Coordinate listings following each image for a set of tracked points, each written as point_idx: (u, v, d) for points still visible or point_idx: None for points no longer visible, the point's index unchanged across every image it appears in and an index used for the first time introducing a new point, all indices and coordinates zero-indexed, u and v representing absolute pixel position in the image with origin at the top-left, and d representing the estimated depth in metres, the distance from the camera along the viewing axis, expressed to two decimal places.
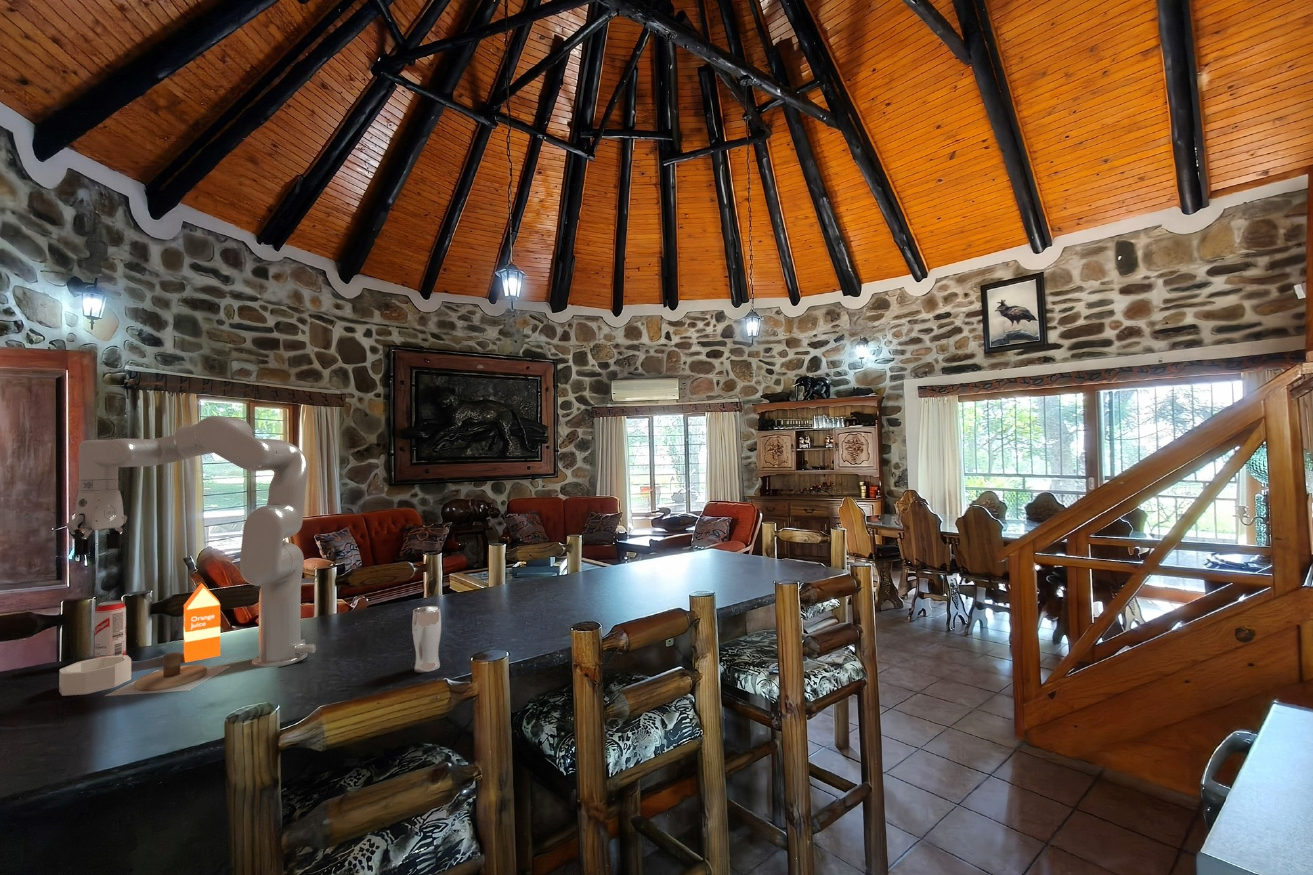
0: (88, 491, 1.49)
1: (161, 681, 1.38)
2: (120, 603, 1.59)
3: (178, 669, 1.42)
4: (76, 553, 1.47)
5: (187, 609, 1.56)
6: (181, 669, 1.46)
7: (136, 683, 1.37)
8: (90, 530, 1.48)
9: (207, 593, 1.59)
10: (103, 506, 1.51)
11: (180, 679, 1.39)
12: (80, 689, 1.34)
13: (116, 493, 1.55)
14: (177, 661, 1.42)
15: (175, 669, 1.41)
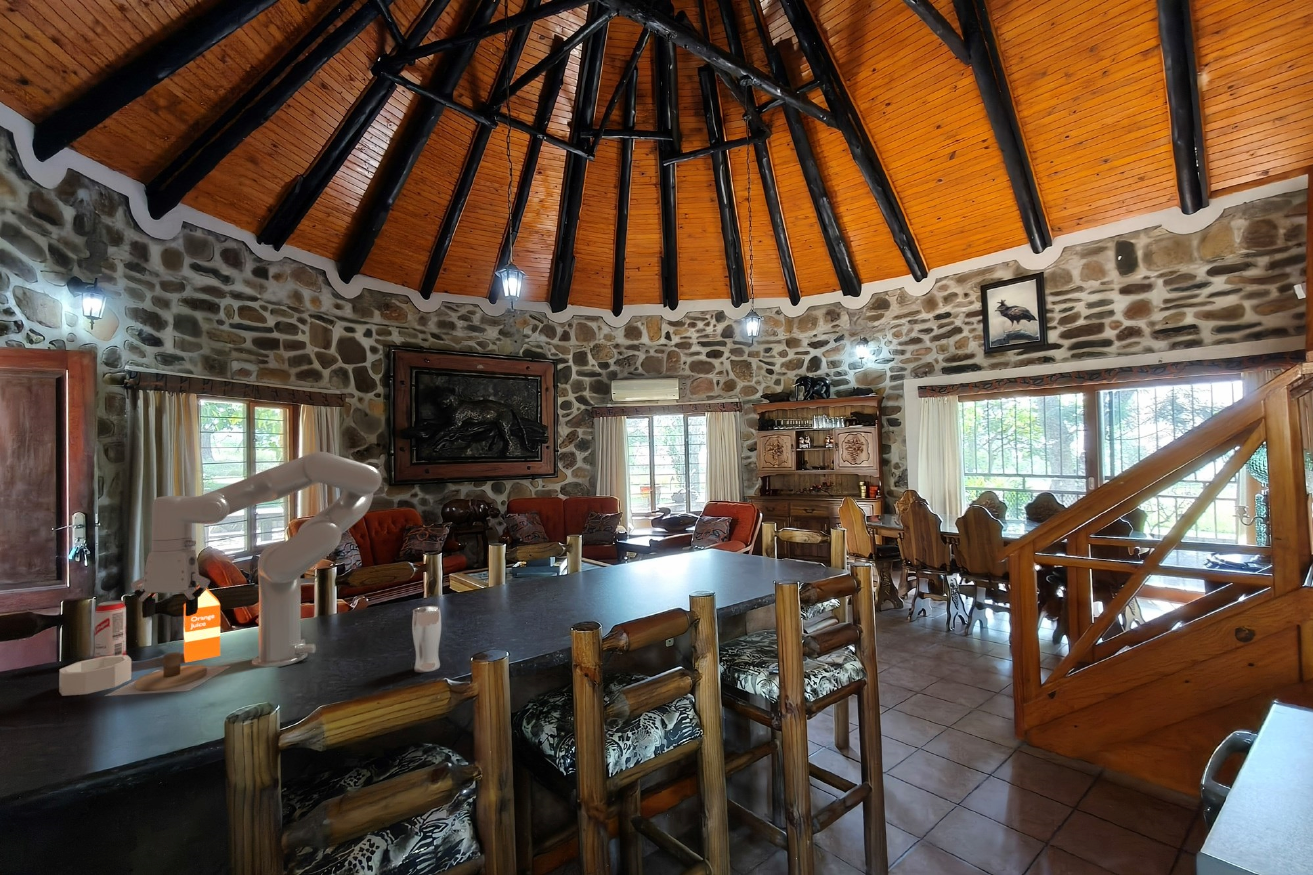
0: (188, 549, 1.44)
1: (161, 681, 1.38)
2: (120, 603, 1.59)
3: (179, 669, 1.42)
4: (189, 614, 1.42)
5: None
6: (181, 669, 1.46)
7: (136, 683, 1.37)
8: None
9: (207, 593, 1.59)
10: None
11: (180, 679, 1.39)
12: (80, 689, 1.34)
13: None
14: (177, 661, 1.42)
15: (175, 669, 1.41)
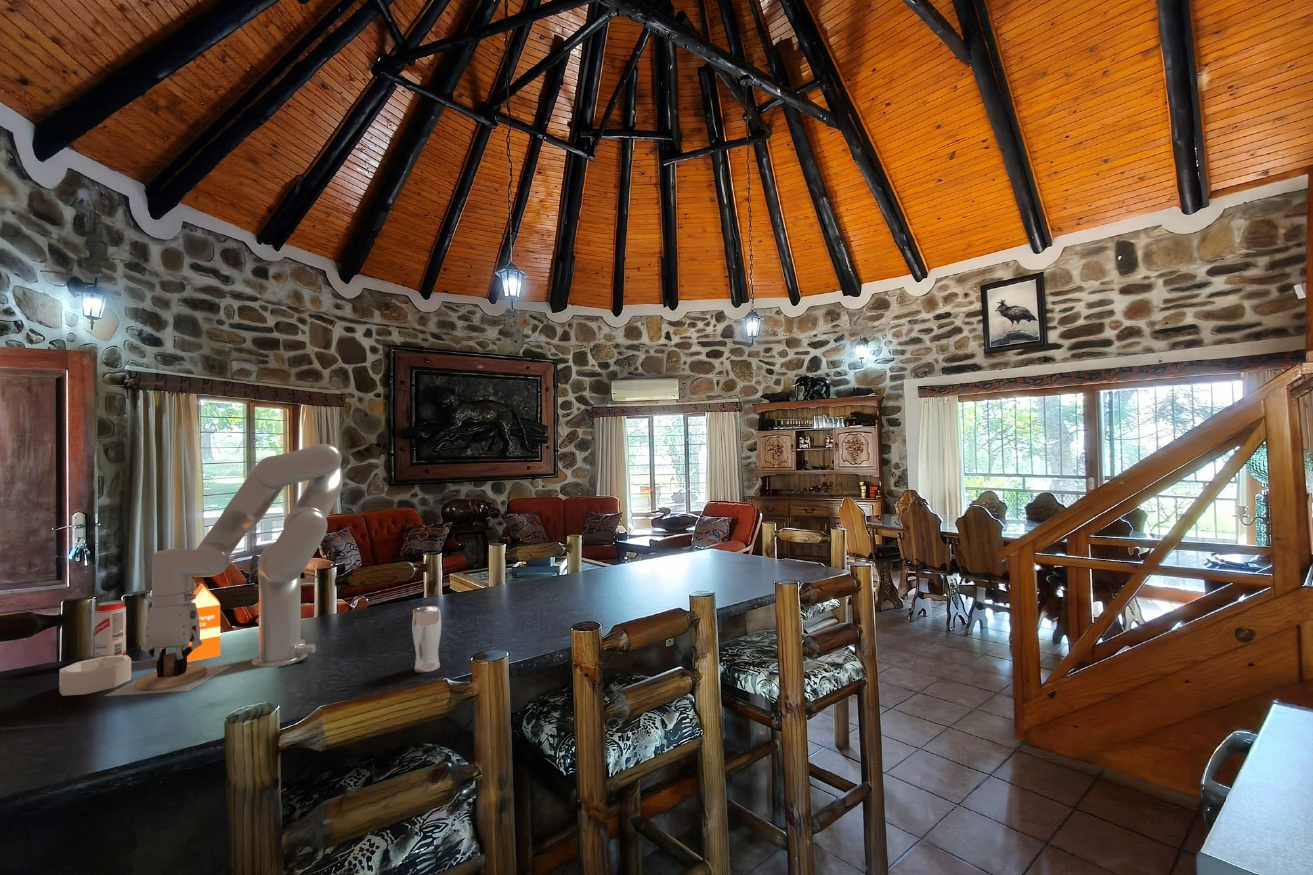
0: (189, 603, 1.43)
1: (161, 681, 1.38)
2: (120, 603, 1.59)
3: None
4: (178, 674, 1.41)
5: None
6: None
7: (136, 683, 1.37)
8: None
9: (207, 593, 1.59)
10: None
11: (180, 679, 1.39)
12: (80, 689, 1.34)
13: None
14: None
15: None
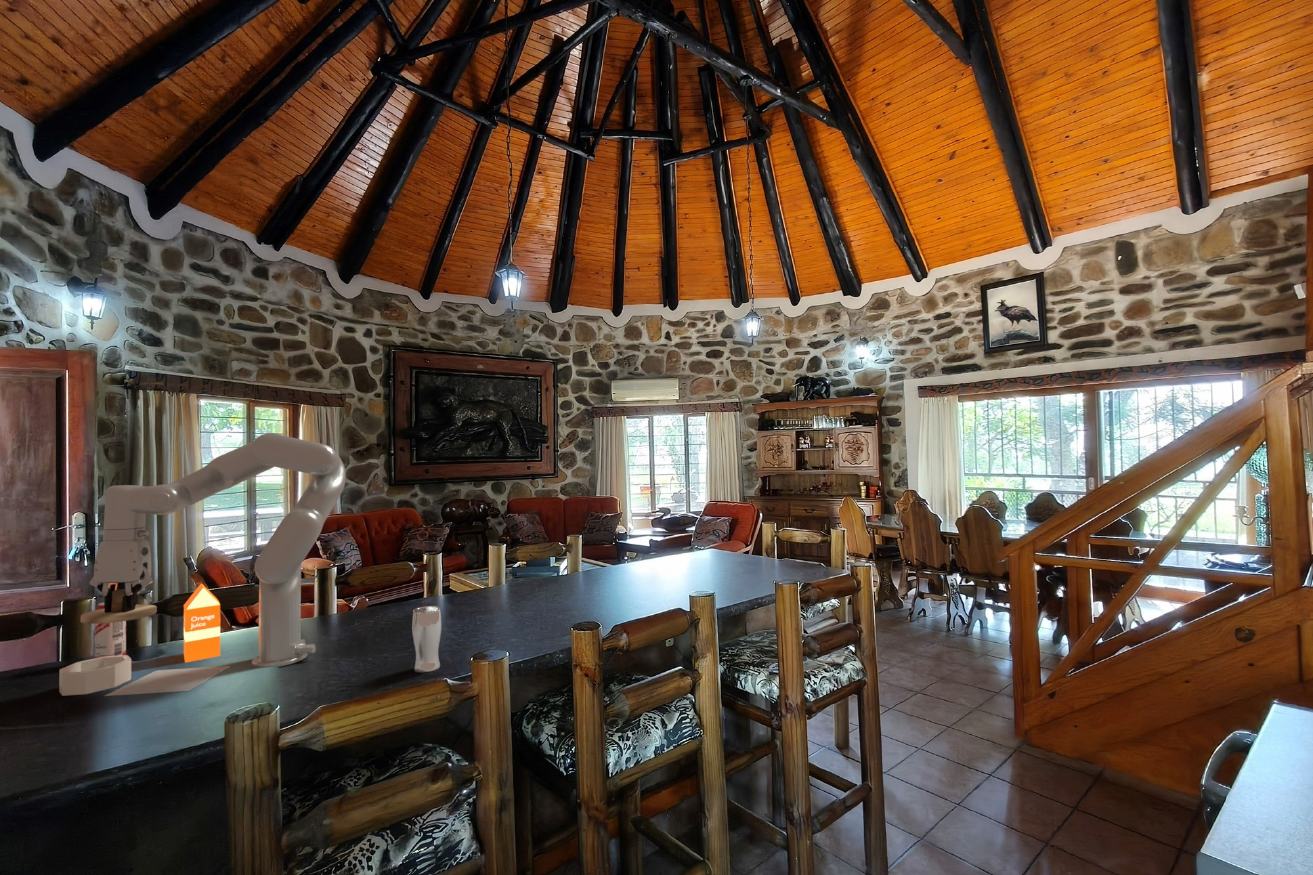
0: (141, 539, 1.43)
1: (108, 615, 1.37)
2: None
3: None
4: (126, 610, 1.40)
5: (187, 609, 1.56)
6: None
7: (82, 616, 1.36)
8: None
9: (207, 593, 1.59)
10: None
11: (128, 614, 1.38)
12: (80, 689, 1.34)
13: None
14: None
15: None
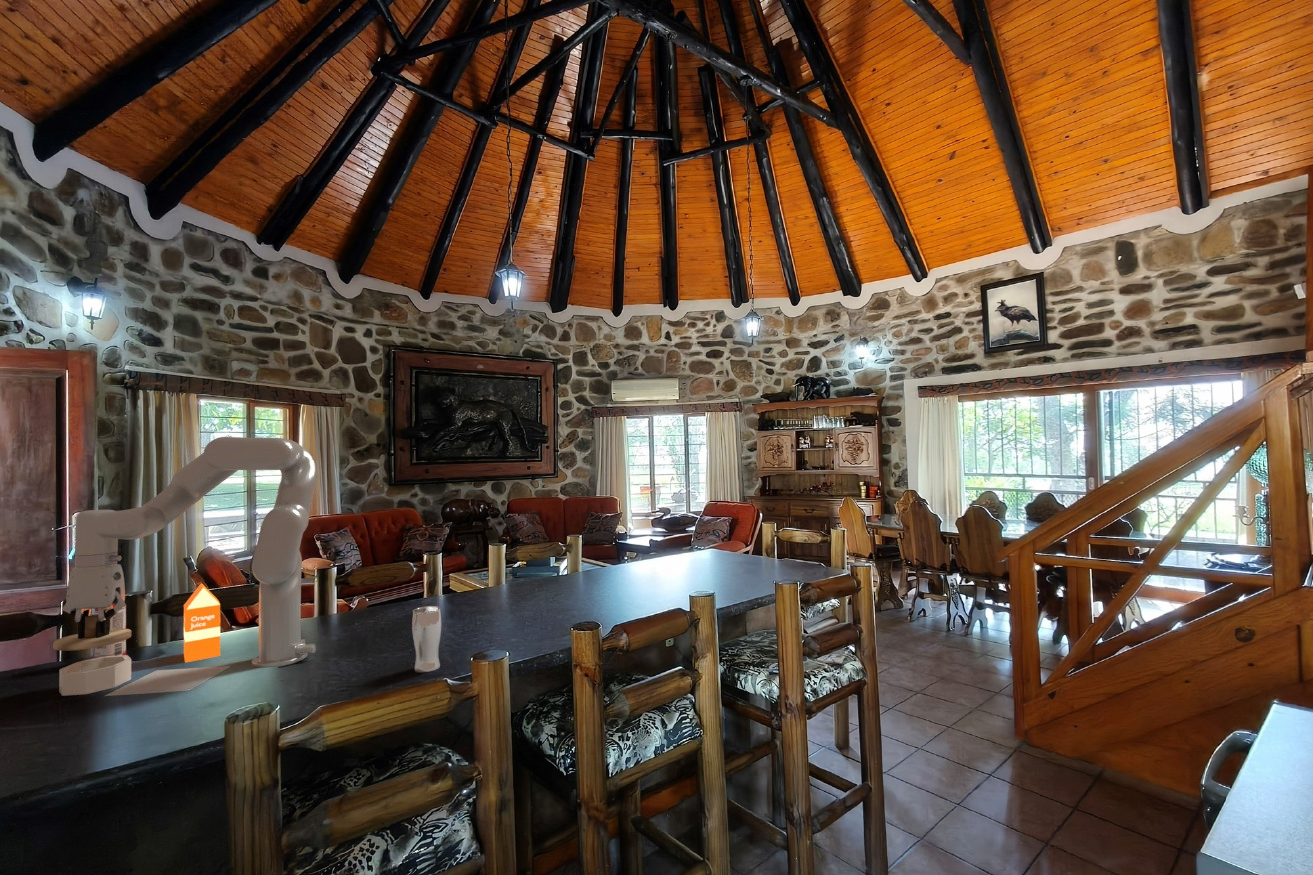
0: (113, 564, 1.42)
1: (80, 642, 1.36)
2: None
3: None
4: (100, 636, 1.39)
5: (187, 609, 1.56)
6: None
7: (54, 643, 1.35)
8: None
9: (207, 593, 1.59)
10: None
11: (100, 640, 1.37)
12: (80, 689, 1.34)
13: None
14: None
15: None
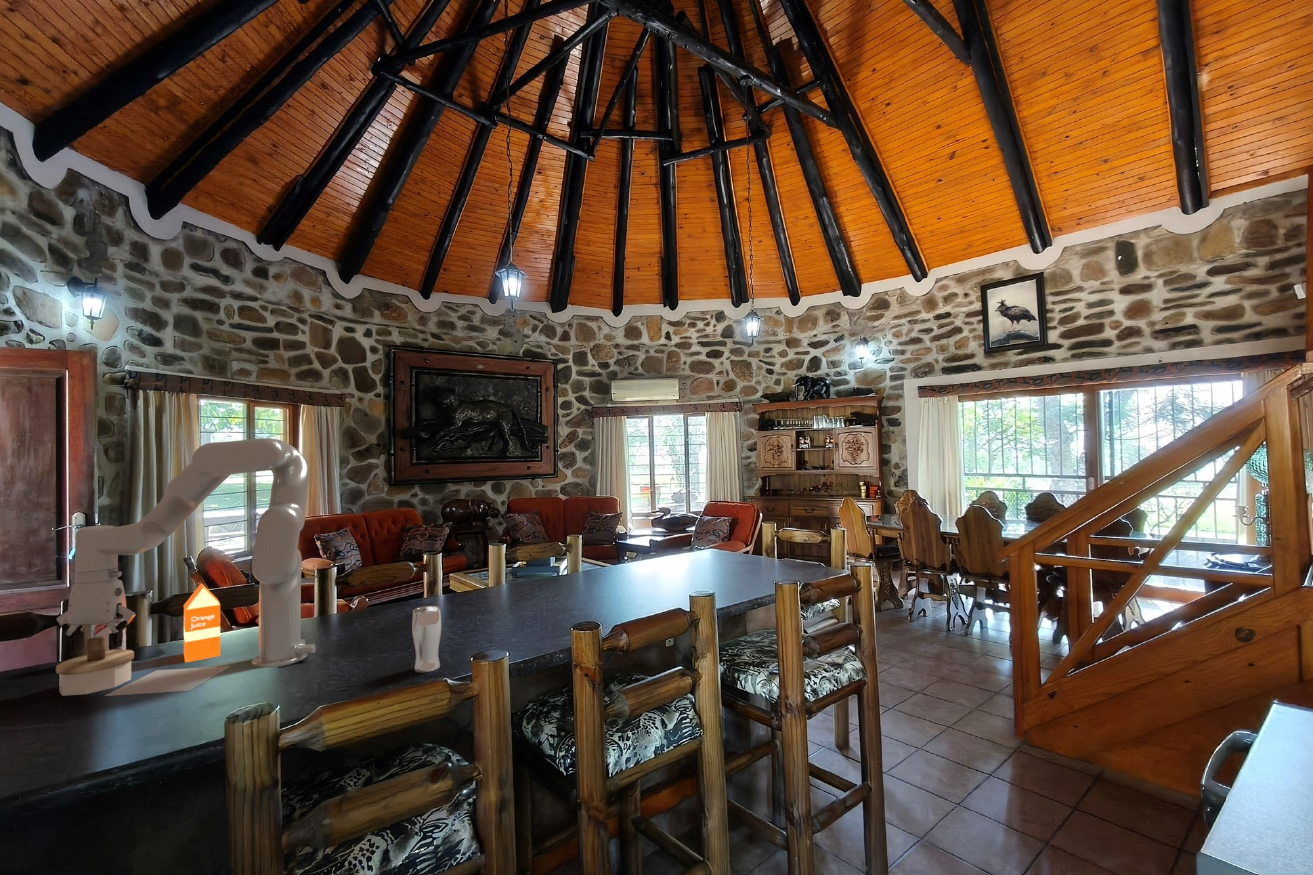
0: (114, 580, 1.42)
1: (83, 665, 1.36)
2: None
3: (103, 653, 1.41)
4: (113, 648, 1.40)
5: (187, 609, 1.56)
6: (107, 653, 1.44)
7: (57, 667, 1.35)
8: None
9: (207, 593, 1.59)
10: None
11: (103, 663, 1.37)
12: (80, 689, 1.34)
13: None
14: (102, 645, 1.40)
15: (99, 653, 1.40)
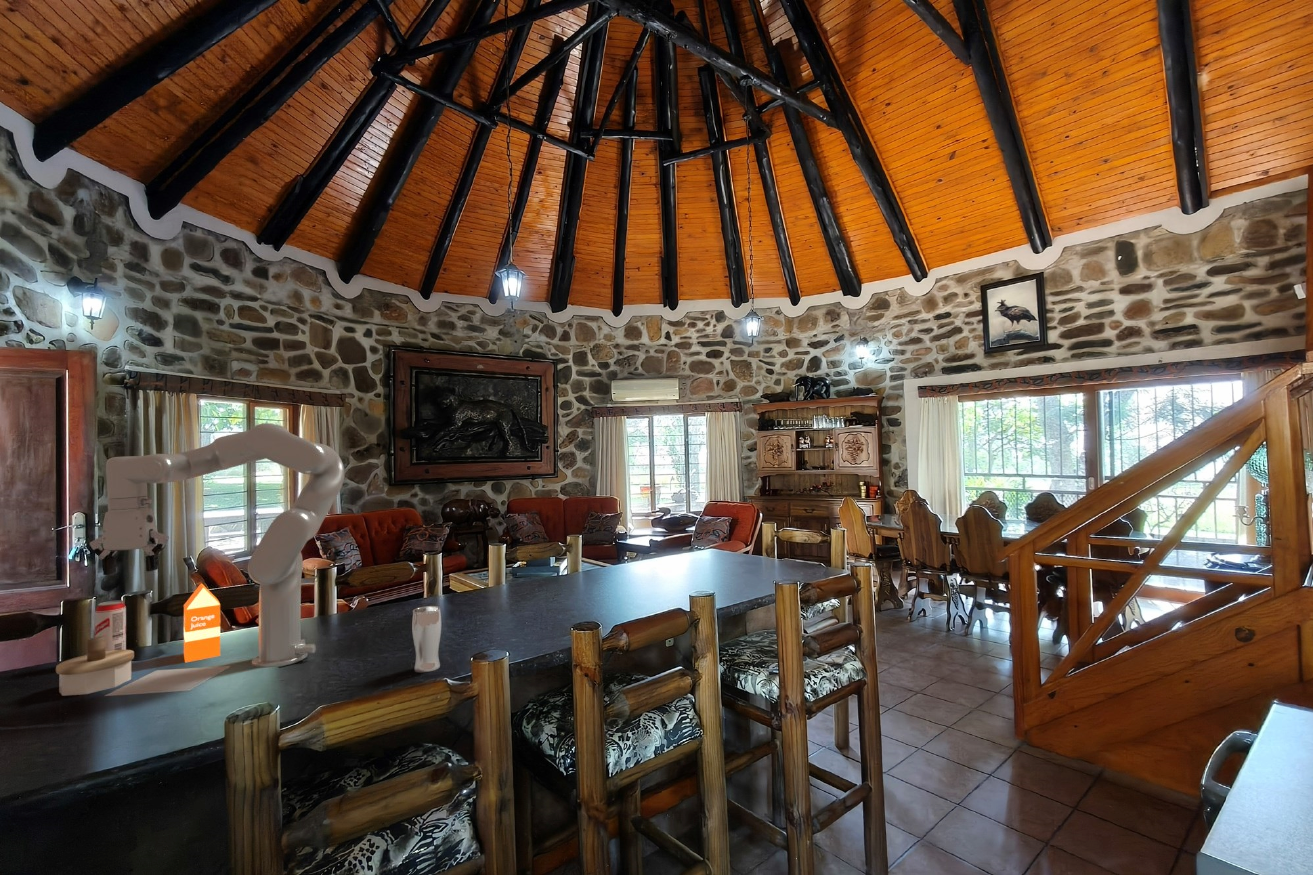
0: (145, 507, 1.48)
1: (83, 665, 1.36)
2: (120, 603, 1.59)
3: (103, 653, 1.41)
4: (150, 569, 1.46)
5: (187, 609, 1.56)
6: (107, 653, 1.44)
7: (57, 667, 1.35)
8: None
9: (207, 593, 1.59)
10: None
11: (103, 663, 1.37)
12: (80, 689, 1.34)
13: None
14: (102, 645, 1.40)
15: (99, 653, 1.40)
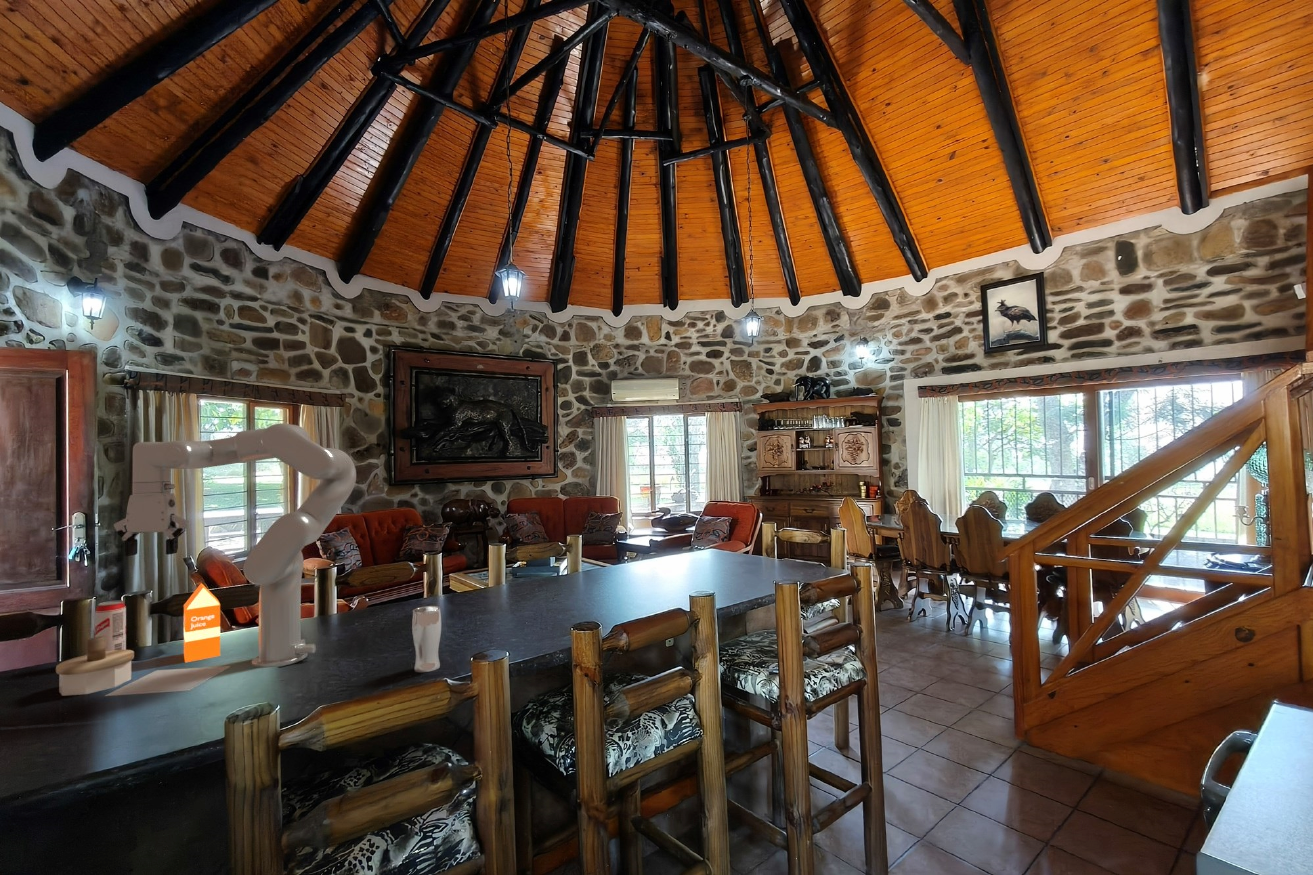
0: (168, 492, 1.52)
1: (83, 665, 1.36)
2: (120, 603, 1.59)
3: (103, 653, 1.41)
4: (169, 552, 1.50)
5: (187, 609, 1.56)
6: (107, 653, 1.44)
7: (57, 667, 1.35)
8: None
9: (207, 593, 1.59)
10: None
11: (103, 663, 1.37)
12: (80, 689, 1.34)
13: None
14: (102, 645, 1.40)
15: (99, 653, 1.40)
